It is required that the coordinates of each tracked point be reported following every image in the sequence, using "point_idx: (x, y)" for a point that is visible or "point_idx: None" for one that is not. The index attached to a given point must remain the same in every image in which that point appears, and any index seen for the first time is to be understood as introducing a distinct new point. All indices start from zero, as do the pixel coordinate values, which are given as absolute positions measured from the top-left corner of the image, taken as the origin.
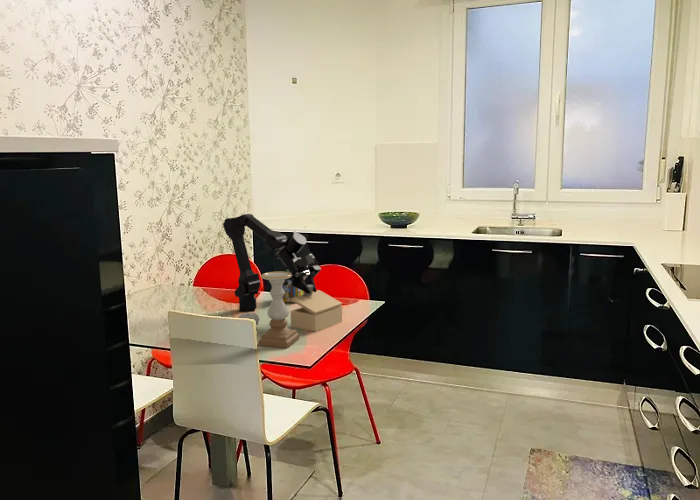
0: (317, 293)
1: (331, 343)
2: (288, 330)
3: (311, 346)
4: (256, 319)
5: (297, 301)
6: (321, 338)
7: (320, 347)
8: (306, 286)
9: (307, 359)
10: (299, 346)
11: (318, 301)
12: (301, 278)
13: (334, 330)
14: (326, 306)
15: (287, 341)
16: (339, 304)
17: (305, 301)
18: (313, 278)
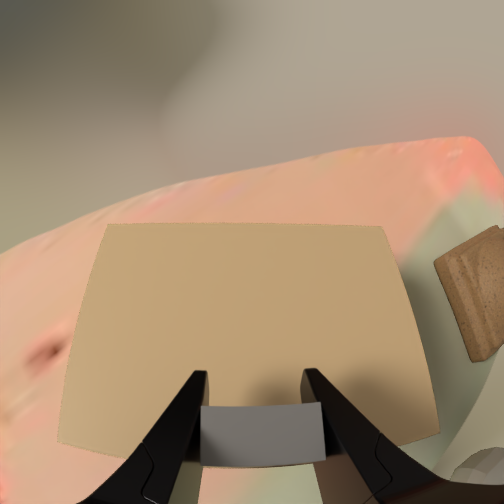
0: (127, 414)
1: (386, 149)
2: (497, 243)
3: (440, 183)
4: (492, 456)
5: (428, 373)
6: (380, 198)
7: (425, 159)
8: (354, 419)
9: (476, 149)
10: (462, 212)
11: (252, 311)
12: (456, 495)
13: (277, 213)
14: (253, 238)
15: (495, 228)
16: (134, 226)
17: (368, 353)
18: (95, 491)
